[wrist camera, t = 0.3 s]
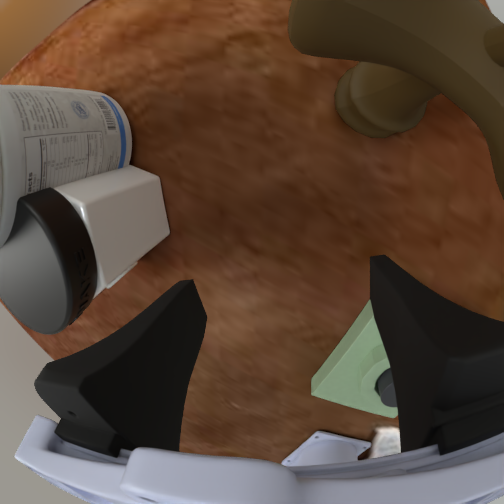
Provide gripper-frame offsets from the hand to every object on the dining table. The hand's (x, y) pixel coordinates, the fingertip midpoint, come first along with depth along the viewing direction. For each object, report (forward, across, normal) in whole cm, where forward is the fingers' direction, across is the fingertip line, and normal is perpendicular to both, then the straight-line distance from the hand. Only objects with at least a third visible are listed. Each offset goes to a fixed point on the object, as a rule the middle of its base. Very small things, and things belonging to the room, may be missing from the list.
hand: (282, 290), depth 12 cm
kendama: (+12, -7, -6) cm, 15 cm away
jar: (+11, +13, -2) cm, 17 cm away
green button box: (+8, -7, +14) cm, 18 cm away
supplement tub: (+12, +15, -8) cm, 20 cm away
